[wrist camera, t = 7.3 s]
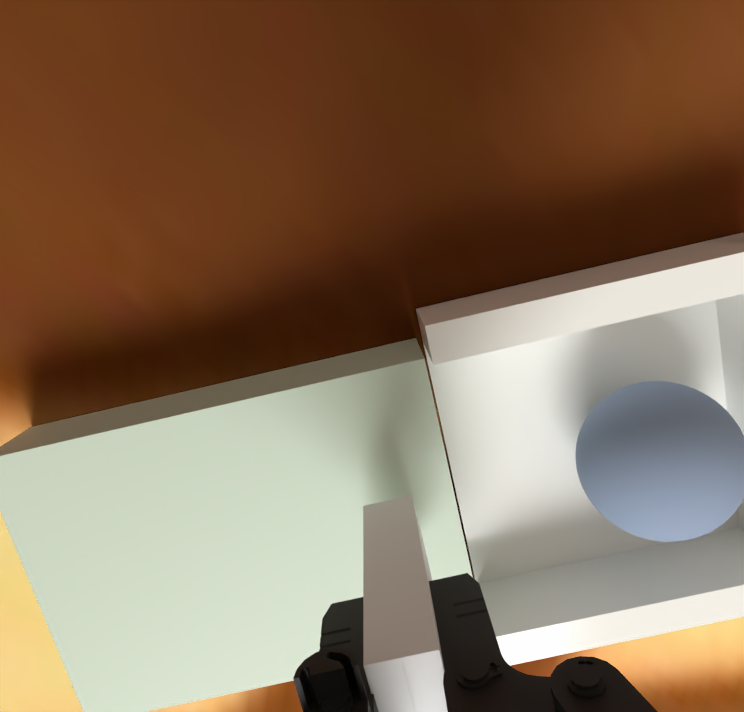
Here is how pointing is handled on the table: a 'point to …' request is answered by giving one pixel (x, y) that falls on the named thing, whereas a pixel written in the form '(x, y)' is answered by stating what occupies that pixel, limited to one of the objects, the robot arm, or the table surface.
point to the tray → (559, 437)
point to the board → (221, 522)
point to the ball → (661, 461)
